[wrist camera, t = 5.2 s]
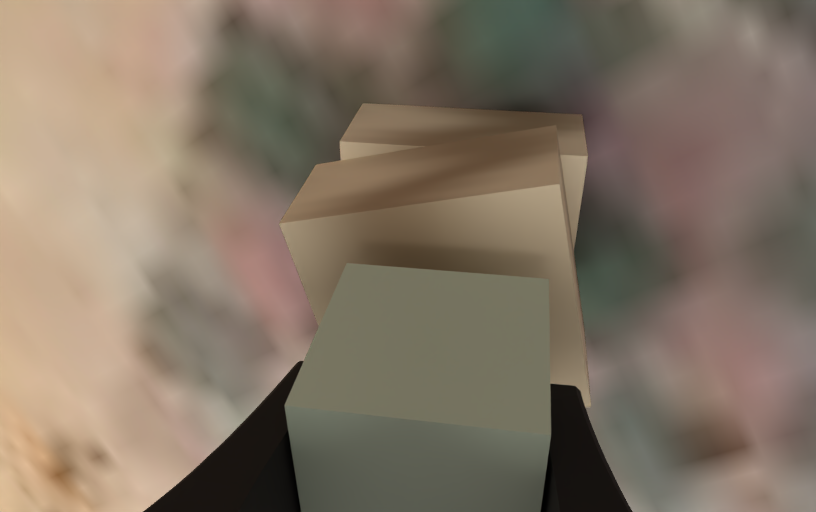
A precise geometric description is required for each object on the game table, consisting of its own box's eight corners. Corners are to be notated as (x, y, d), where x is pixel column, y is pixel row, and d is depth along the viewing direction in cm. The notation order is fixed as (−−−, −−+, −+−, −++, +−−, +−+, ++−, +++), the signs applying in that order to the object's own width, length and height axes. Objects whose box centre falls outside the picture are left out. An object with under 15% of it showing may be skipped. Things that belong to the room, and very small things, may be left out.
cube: (549, 278, 13) (551, 435, 10) (532, 425, 15) (529, 594, 12) (346, 262, 14) (284, 405, 10) (357, 406, 16) (309, 562, 13)
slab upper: (556, 125, 16) (559, 183, 13) (584, 328, 19) (591, 406, 16) (316, 164, 17) (278, 223, 15) (377, 346, 20) (355, 420, 18)
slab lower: (581, 110, 19) (587, 156, 16) (556, 289, 22) (558, 351, 19) (365, 99, 19) (339, 141, 17) (372, 273, 23) (352, 330, 20)
